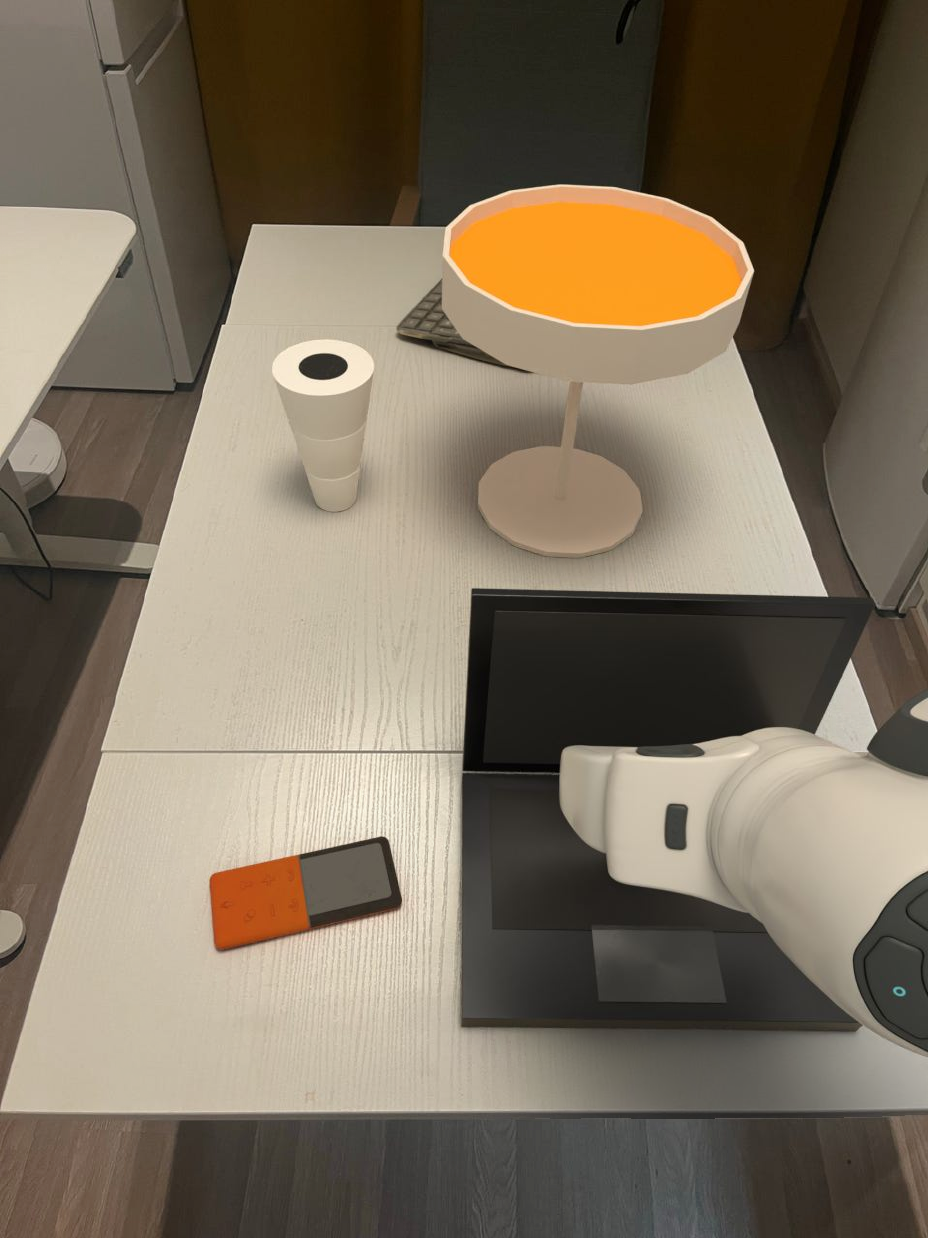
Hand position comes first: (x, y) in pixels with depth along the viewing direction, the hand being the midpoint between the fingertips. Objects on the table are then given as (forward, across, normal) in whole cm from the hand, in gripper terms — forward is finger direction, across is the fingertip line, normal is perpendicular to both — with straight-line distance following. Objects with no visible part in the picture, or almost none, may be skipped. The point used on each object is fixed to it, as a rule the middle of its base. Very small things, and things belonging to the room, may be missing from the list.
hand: (704, 760), depth 57 cm
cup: (+52, +30, -19) cm, 63 cm away
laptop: (+85, +7, -52) cm, 99 cm away
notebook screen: (+16, 0, -2) cm, 16 cm away
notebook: (+16, 0, +15) cm, 22 cm away
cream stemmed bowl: (+52, +3, -20) cm, 56 cm away
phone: (+16, +28, +16) cm, 36 cm away
